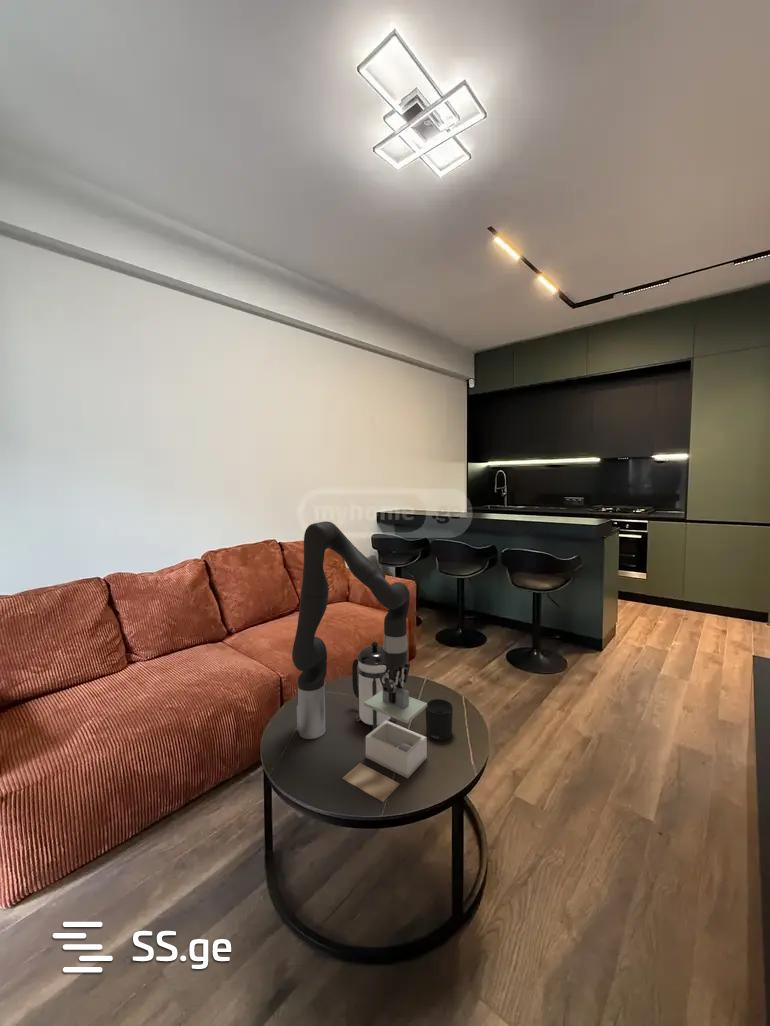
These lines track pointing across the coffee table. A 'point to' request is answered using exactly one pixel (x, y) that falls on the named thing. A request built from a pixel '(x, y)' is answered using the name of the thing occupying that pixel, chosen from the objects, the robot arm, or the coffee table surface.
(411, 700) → the lid
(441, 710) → the pen holder
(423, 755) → the storage box
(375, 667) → the coffee press
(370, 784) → the cork pad
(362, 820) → the coffee table surface
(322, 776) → the coffee table surface
